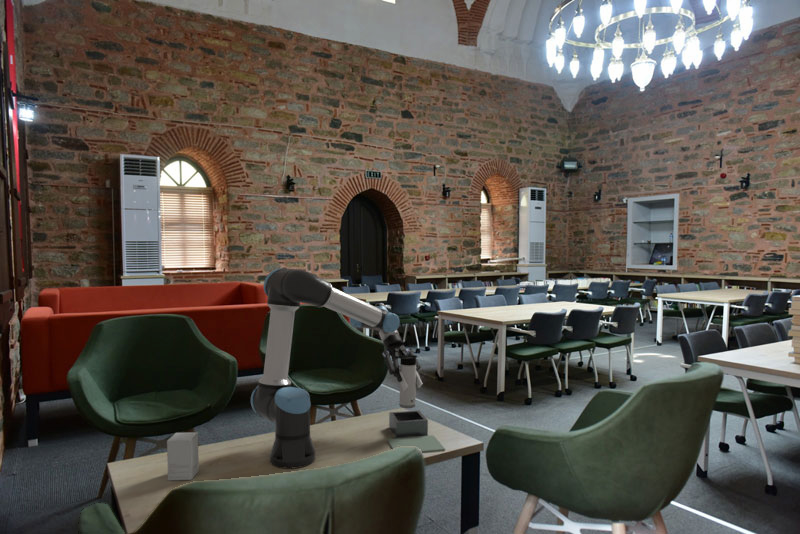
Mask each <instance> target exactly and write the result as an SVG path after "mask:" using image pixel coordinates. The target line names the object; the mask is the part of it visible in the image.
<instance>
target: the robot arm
mask: <svg viewBox="0 0 800 534" xmlns="http://www.w3.org/2000/svg"><path fill="white" fill-rule="evenodd" d="M263 291H264V294H265V295H266V296H267V302H266V305H267V306H268V307H269V309H270V313H269V314H270V315H269V323H268V332H267V341H266V351H265V356H264V357H265V358H264V366H263V367H264V368H263V375H262V377H260V378H259V379H258V382H257V386H256V387H255V389H253V390H252V393H251V396H250V404H251V408H252V411H254V413H255V414H257V415H258V416H259V417H261V418H262V419H265V420H267V421H269V422H271V423H274V424H275V425H274V430H275V432H274V435H275V436H274V440H273V444H272V448H271V451H270V454H269V463H270V465H272V466H274V467H276V468H280V467H286V468H285V469H293V468H292V467H298V468H300V467H299V466H303V467H305V466H308V465H311V464H312V463H313V462H315V460H316V449H315V446H314V443H313V440H312V438H311V405H312V403H311V395H310V394H309V392H308V391H307V390H306V389H303V388H302V387H295V386H292V381H291V380H290V378H289V368H290V360H291V359H290V358H291V349H292V342H293V332H294V324H295V323H294V321H295V315H296V314H295V313H296V311H297V310H298V309H299V308H300V305H301V304H306V305H307V304H308V305H311V306H314V307H316V308H322V307H325V308H327V309H328V310H331V311H334V312H337V313H339V314H341V315H343V316H345V317H347V318H349V323H350V325H351V326H352V327H355V328H358V329H362V328H363V329H368V330H374V331H377V332H378V334H379V337H380V340H381V341H382V344H383V346H384V349H385V350H383V352H382V353H381V356H382V357H383V359H384V361H385V364H386V367H387V370H388V373H389V374H390V376H392V375H393V377H395V378H396V379H397V382H398V383H399V384H400V383H401V385H402V388H403V390H406V388H407V387H408V385H407V383H406V380H405V378H404V376H403V374H402V372H400V366H399V364H400V363H399V359H400V360H401V357H403V356H409V355H414V356H415V355H416V354H414V352H413V348H412V347H409V348H407V347H405V345H404V341H403V340H402V337H401V336H400V333H399V331H398V329H399V327H400V317H399V316H398V315H397V314H396V313H394V312H393V313H392V312H390V311H389V310H388V309H387V307H386V306H385V305H383V304H382V305H379V306H378V305H377V306H374V305H372V304H370V303H368V302H366V301H363V300H362V299H360V298H357V297H355V296H353V295H351V294H349V293H347V292H344V291H341V290H340V289H337V288H336V287H333V285H332V284H331V283H330V282H329V281H327V280H326V279H323V278H321V277H319V276H318V275H316V274H313V273H311V272H309V271H307V270H304V269H297V268H296V269H295V268H294V269H293V268H286V267H285V268H284V267H283V268H276V269H274V270H272V271H270V272H269V273H268V274H267V275H266V277H265V279H264V282H263ZM421 368H422V367H421V365H420V363H419V361H418V359H417V358H416V387H417V388H418V389H420V388H421V387H422V386H423V384H424V383H423V381H422V379H421V378H422V377H421V374H420V372H419V371H420V369H421Z"/></svg>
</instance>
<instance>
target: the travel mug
mask: <svg viewBox="0 0 800 534" xmlns="http://www.w3.org/2000/svg"><path fill="white" fill-rule="evenodd" d="M414 355H415V356H414ZM414 355H409V356H403V357H401V359H400V363H399V364H400V366H399V373H400V372H402V374H403V376H404V378H405V380H406V383H407V385H408V387H407V388H406V390H403V388H402V385H401V383H400V382H399V405H398V406H399V407H400V408H402V409H414V408H415V407H416V395H417V394H416V393H417V390H416V389H417V388H416V387H417V384H416V359H417V358H418V355H416V354H414Z"/></svg>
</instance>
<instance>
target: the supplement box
mask: <svg viewBox="0 0 800 534" xmlns="http://www.w3.org/2000/svg"><path fill="white" fill-rule="evenodd" d="M166 448H167V452H166V454H167V455H166V456H167V459H166V460H167V481H191V480H193V478H194V477H195V476H196V475H197V474H198V473H199V471H200V470H199V469H200V467H199V465H200V463H199V460H200V459H199V433H198V432H197V431H196V432H194V431H193V432H175V433H174V434H172V436H171V437H169V439H168V440H166Z"/></svg>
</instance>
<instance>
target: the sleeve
mask: <svg viewBox="0 0 800 534" xmlns="http://www.w3.org/2000/svg"><path fill="white" fill-rule="evenodd" d="M388 414H389V416H388V417H389V418H388V421H389V424H388V425H389V427H390V428H389V427H388V428H389V429H390V431H391V433H392V434H393V436H394V437H395V438H406V437H418V436H429V434H428V433H429V431H428V428H429V426H428V425H429V420H428V419H427V418H426V416H425V415H424V414H423V413H422V412H421V410H408V411H407V410H406V411H392V412H389V413H388Z"/></svg>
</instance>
